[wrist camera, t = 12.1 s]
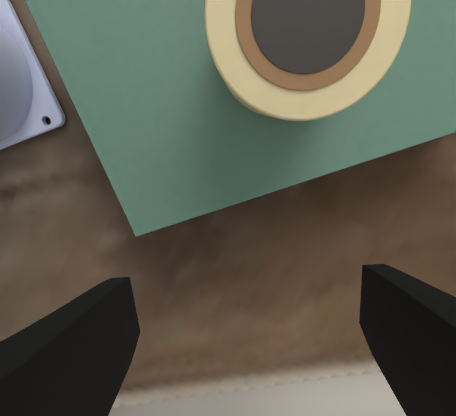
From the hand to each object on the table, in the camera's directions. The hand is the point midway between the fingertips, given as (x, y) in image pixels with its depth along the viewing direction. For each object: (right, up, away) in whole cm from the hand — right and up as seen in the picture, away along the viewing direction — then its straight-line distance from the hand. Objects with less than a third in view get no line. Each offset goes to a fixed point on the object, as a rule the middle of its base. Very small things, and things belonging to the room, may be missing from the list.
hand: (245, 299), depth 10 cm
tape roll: (+2, +9, +3) cm, 10 cm away
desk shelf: (+2, +11, +7) cm, 13 cm away
